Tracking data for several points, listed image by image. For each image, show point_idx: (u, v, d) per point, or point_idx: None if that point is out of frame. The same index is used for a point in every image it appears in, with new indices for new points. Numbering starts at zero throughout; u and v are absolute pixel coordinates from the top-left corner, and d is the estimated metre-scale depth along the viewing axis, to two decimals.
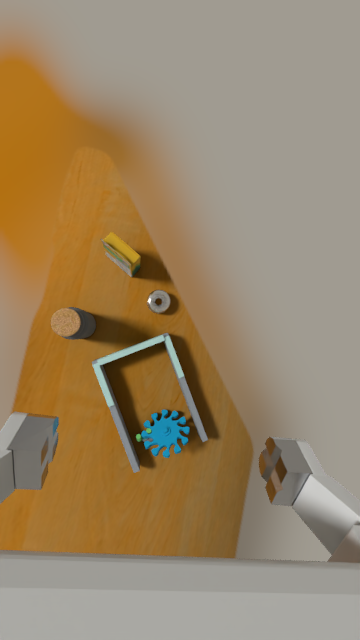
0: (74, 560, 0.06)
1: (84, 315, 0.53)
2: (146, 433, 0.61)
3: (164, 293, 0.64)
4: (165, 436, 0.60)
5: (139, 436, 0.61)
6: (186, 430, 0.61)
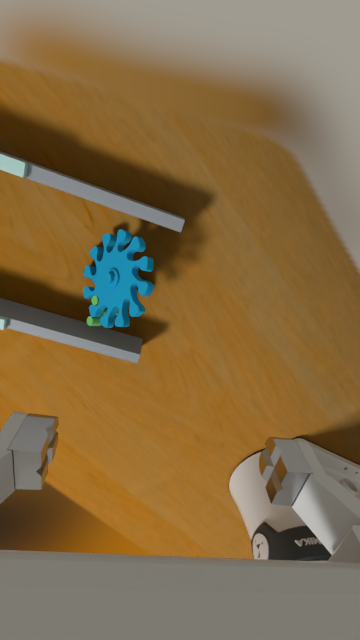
0: (74, 560, 0.06)
1: None
2: (94, 307, 0.32)
3: None
4: (116, 286, 0.29)
5: (90, 319, 0.32)
6: (135, 245, 0.28)
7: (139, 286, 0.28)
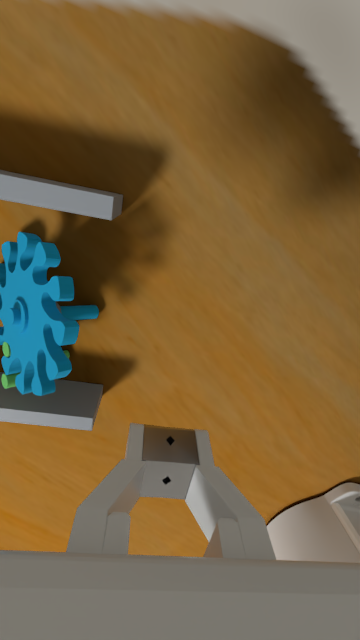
0: (74, 560, 0.06)
1: None
2: (7, 360, 0.20)
3: None
4: (26, 328, 0.18)
5: (5, 379, 0.20)
6: (41, 258, 0.16)
7: (54, 329, 0.16)
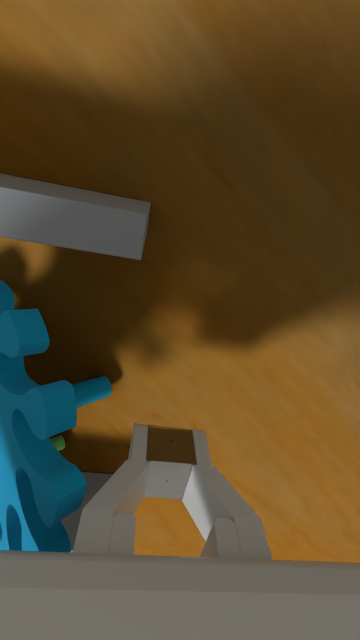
0: (74, 561, 0.06)
1: None
2: None
3: None
4: None
5: None
6: (10, 343, 0.08)
7: (35, 488, 0.08)
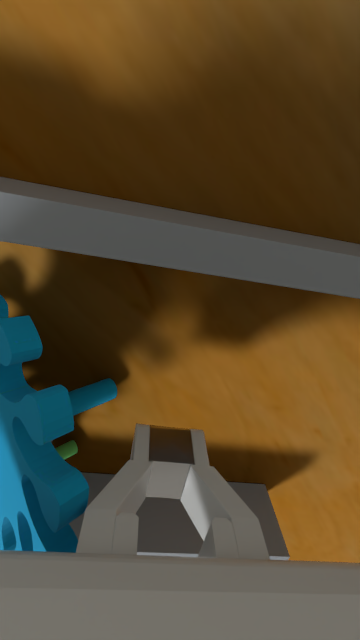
0: (74, 560, 0.06)
1: None
2: None
3: None
4: None
5: None
6: (3, 351, 0.08)
7: (39, 494, 0.08)
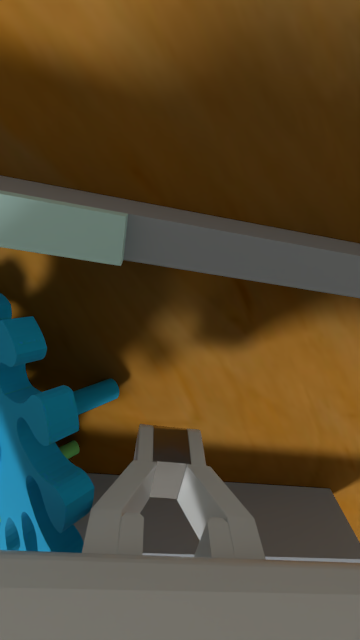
0: (74, 560, 0.06)
1: None
2: None
3: None
4: None
5: None
6: (8, 352, 0.08)
7: (44, 494, 0.08)
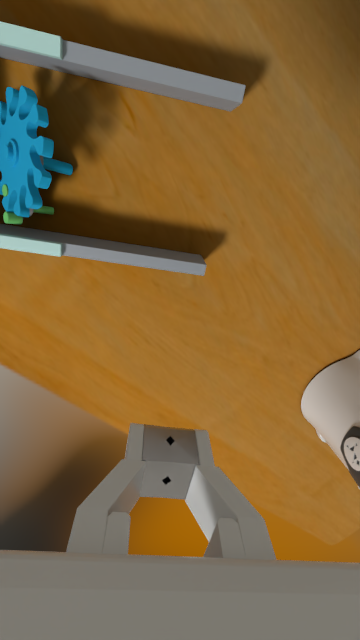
0: (74, 560, 0.06)
1: None
2: (6, 198, 0.27)
3: None
4: (18, 159, 0.25)
5: (6, 215, 0.28)
6: (23, 97, 0.23)
7: (36, 145, 0.23)
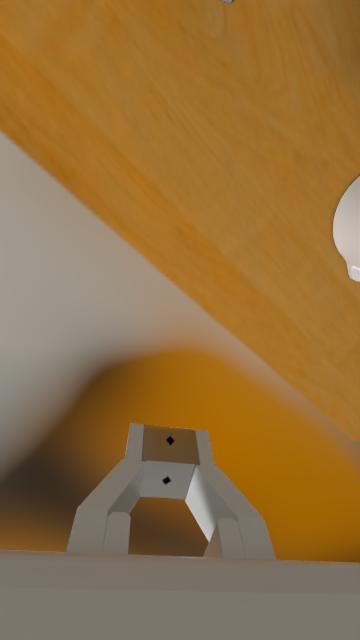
0: (74, 560, 0.06)
1: None
2: None
3: None
4: None
5: None
6: None
7: None
